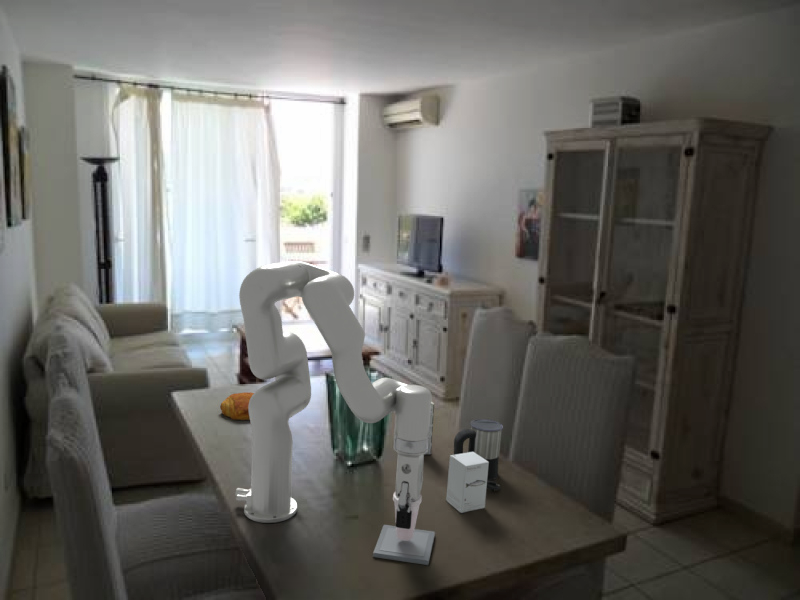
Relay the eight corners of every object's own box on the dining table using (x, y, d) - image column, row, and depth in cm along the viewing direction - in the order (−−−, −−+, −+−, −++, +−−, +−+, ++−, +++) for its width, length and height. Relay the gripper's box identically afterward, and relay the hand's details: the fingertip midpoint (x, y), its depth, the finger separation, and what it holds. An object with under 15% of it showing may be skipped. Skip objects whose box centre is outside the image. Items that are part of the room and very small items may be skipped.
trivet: (372, 556, 136) (373, 552, 136) (383, 528, 148) (383, 524, 148) (428, 565, 134) (428, 560, 134) (434, 535, 146) (434, 531, 146)
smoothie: (416, 546, 137) (420, 485, 135) (387, 541, 138) (391, 481, 136) (421, 531, 143) (425, 473, 141) (393, 526, 145) (397, 468, 142)
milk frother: (483, 464, 187) (487, 416, 184) (523, 485, 174) (527, 434, 172) (446, 475, 178) (450, 424, 176) (485, 498, 166) (490, 444, 164)
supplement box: (461, 514, 157) (464, 466, 155) (445, 500, 163) (448, 454, 161) (485, 508, 160) (489, 461, 158) (469, 495, 167) (473, 450, 165)
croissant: (221, 413, 222) (218, 392, 220) (266, 405, 226) (263, 384, 224) (222, 427, 208) (219, 404, 207) (270, 419, 212) (267, 396, 211)
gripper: (422, 461, 128) (417, 542, 131) (432, 430, 145) (427, 503, 148) (386, 456, 129) (381, 537, 132) (400, 426, 146) (395, 499, 149)
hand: (405, 518), depth 140 cm, fingers closed on smoothie, 6 cm apart
